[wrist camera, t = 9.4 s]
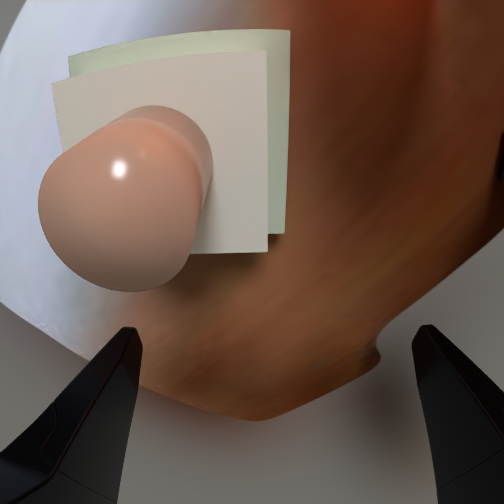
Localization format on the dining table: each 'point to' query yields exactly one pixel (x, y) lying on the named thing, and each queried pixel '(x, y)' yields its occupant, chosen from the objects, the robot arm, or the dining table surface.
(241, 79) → the cream slab
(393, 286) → the dining table surface
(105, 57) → the sage slab
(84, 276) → the pale pink cylinder
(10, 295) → the dining table surface
